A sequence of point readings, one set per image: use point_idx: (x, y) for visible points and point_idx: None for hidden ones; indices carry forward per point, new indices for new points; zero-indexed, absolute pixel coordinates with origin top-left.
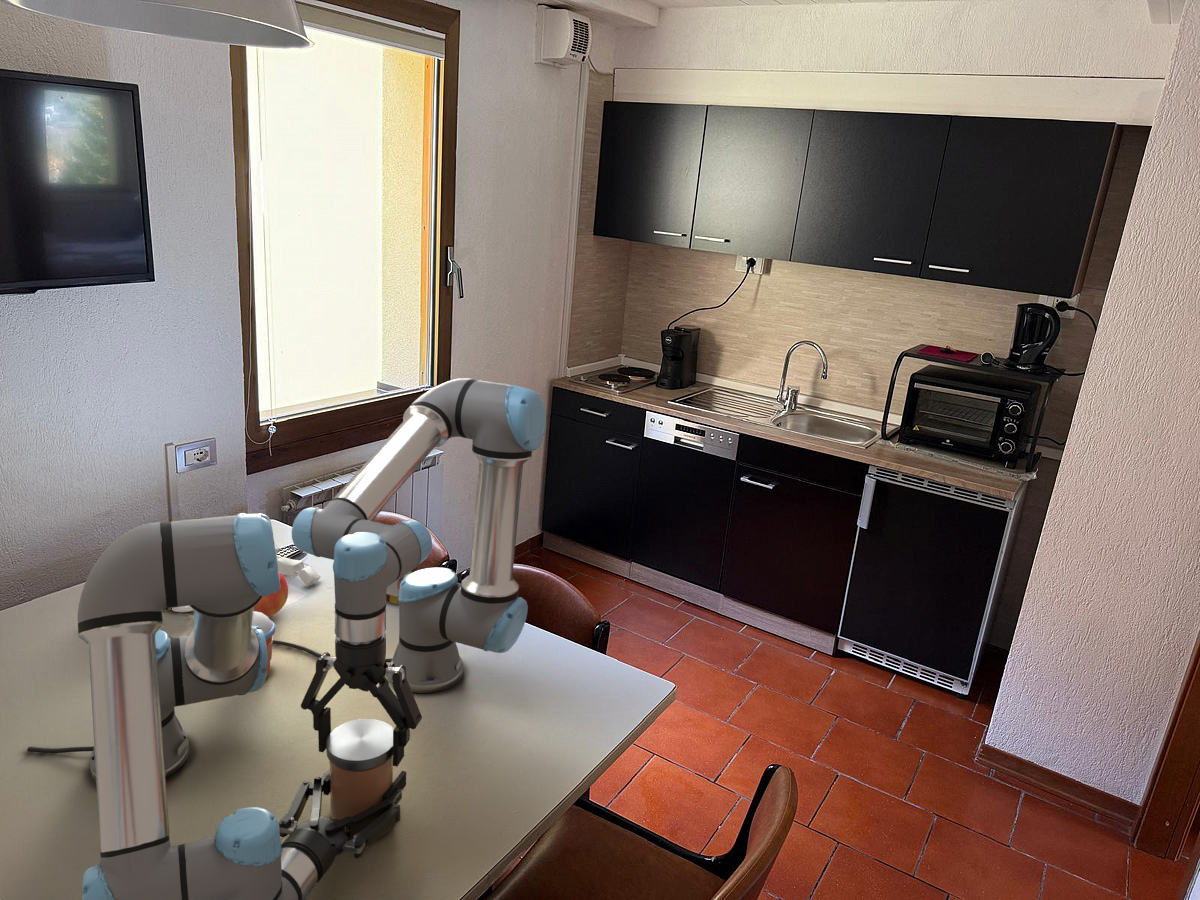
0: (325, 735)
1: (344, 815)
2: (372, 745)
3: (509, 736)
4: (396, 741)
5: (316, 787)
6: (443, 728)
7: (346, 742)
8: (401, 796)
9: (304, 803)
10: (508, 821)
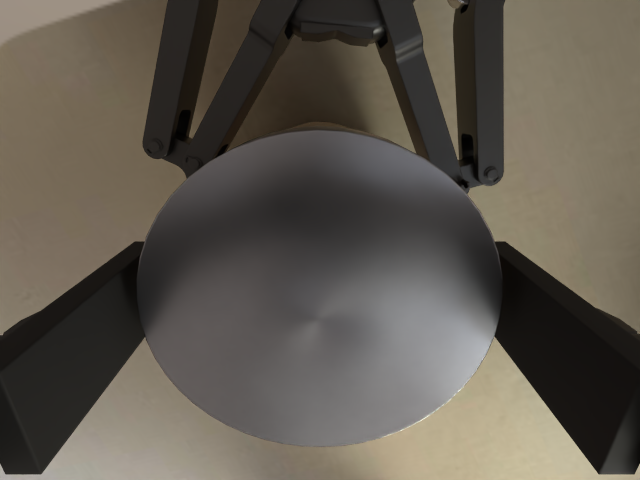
0: (517, 300)
1: (331, 126)
2: (237, 287)
3: (154, 464)
4: (44, 314)
5: (447, 162)
6: (279, 455)
7: (384, 273)
8: None
9: (461, 120)
10: (27, 270)
